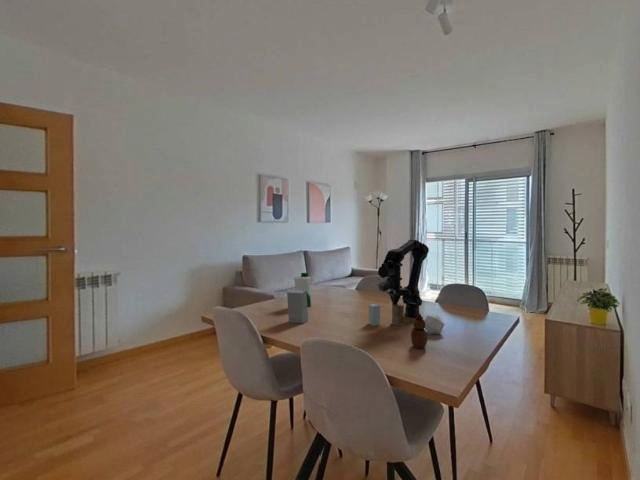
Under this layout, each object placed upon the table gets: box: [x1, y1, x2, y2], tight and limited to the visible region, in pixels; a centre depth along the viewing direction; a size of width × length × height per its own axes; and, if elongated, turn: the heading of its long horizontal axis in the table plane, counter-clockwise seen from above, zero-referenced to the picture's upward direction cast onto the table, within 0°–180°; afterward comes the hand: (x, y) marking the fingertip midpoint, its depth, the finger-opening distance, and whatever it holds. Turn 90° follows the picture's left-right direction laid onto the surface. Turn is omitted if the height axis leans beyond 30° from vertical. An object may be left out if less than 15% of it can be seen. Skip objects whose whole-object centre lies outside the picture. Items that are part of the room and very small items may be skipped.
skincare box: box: [286, 289, 309, 324], centre depth 174 cm, size 8×7×16 cm
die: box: [424, 315, 445, 335], centre depth 155 cm, size 8×9×10 cm
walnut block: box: [391, 303, 405, 326], centre depth 169 cm, size 4×4×10 cm
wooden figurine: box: [410, 309, 428, 349], centre depth 137 cm, size 7×6×15 cm
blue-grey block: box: [368, 303, 381, 327], centre depth 169 cm, size 4×4×10 cm
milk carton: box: [293, 272, 312, 308], centre depth 205 cm, size 9×9×20 cm
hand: (394, 306), depth 172 cm, fingers closed
